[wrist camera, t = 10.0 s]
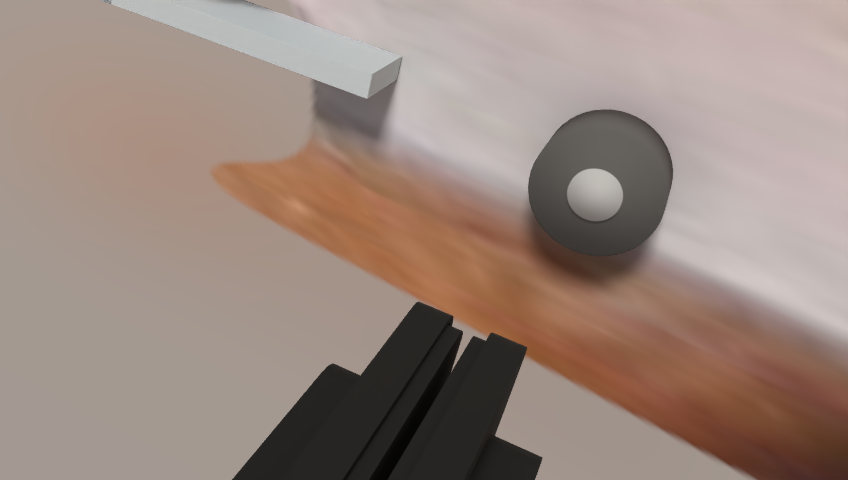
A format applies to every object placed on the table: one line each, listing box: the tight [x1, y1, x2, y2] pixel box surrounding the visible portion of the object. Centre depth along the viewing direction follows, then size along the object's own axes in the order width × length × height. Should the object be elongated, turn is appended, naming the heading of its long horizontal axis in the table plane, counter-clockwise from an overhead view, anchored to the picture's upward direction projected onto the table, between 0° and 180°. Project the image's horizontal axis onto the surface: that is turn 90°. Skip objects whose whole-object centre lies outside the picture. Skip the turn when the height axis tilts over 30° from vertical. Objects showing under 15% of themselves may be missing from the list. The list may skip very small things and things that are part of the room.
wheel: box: [528, 110, 673, 256], centre depth 37 cm, size 6×6×3 cm
